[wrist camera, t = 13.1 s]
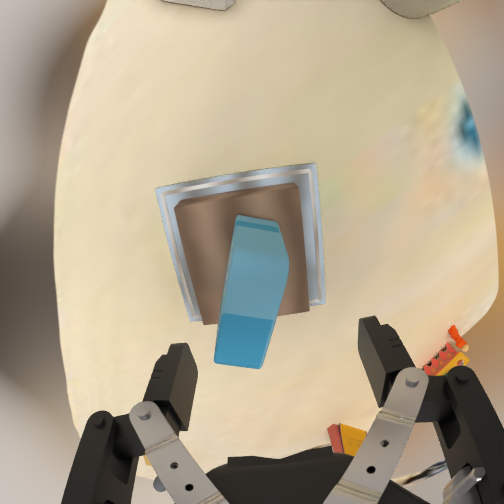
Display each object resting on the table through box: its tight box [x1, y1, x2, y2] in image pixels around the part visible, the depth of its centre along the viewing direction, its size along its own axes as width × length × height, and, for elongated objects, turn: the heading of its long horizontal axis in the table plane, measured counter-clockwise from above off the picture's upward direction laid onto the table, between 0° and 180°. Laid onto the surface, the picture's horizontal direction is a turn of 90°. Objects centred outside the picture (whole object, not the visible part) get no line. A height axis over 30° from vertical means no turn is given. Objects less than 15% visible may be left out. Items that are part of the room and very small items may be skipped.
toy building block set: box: [327, 325, 469, 456], centre depth 47 cm, size 12×35×14 cm, turn 144°
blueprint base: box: [155, 163, 325, 325], centre depth 38 cm, size 20×20×5 cm
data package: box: [214, 215, 289, 369], centre depth 30 cm, size 12×4×12 cm, turn 169°
